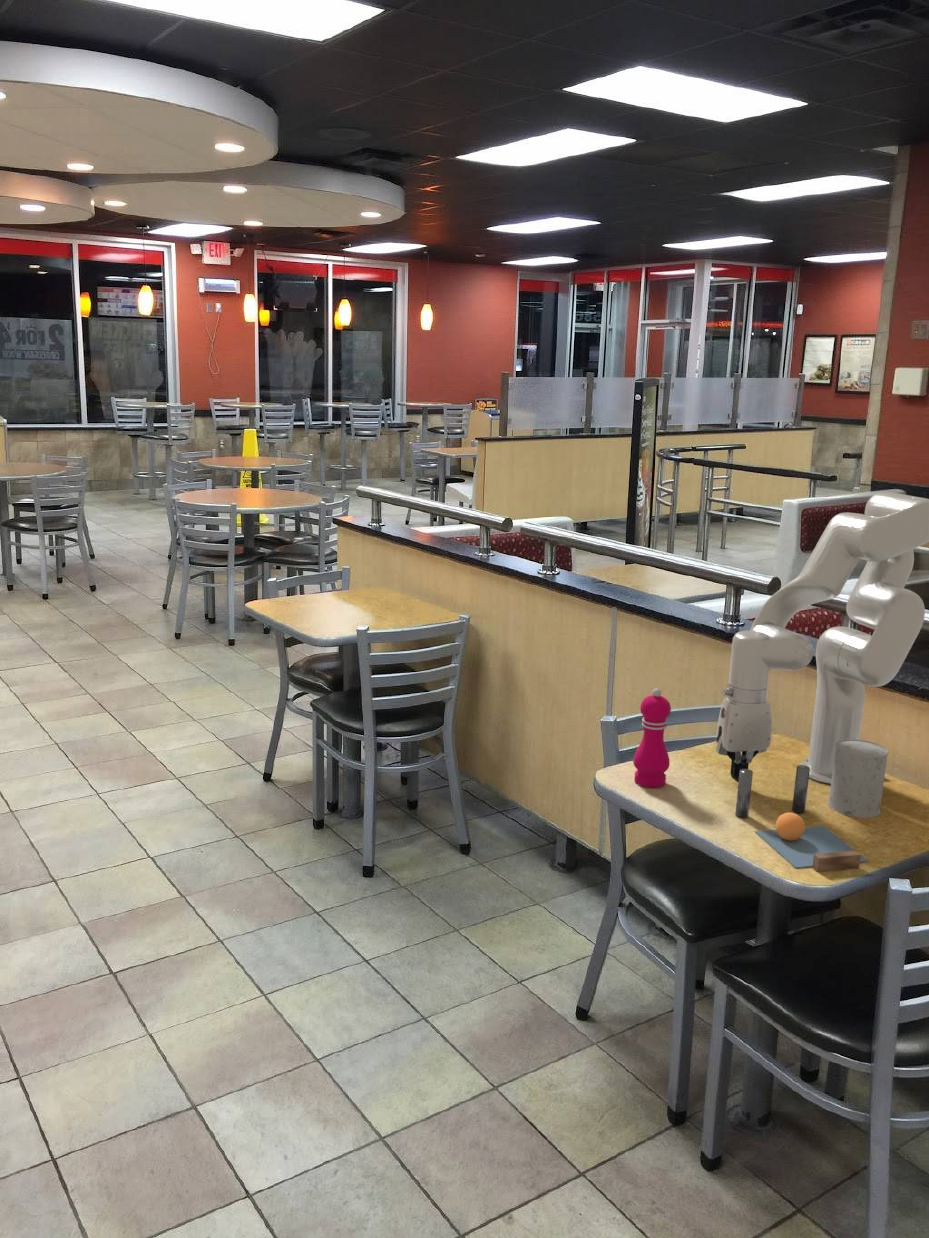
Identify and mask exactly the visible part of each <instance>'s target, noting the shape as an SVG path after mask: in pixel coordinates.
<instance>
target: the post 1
mask: <svg viewBox="0 0 929 1238" xmlns="http://www.w3.org/2000/svg"><path fill="white" fill-rule="evenodd" d="M753 774H754V772H753V770H751V769H749V768H748V769H740V772H739V782H737V783H738V784H737V794H736V803H735V813H734V815H735V817H737V818H739V819H748V818H749V813H750V806H751V805H750V801H751V793H752V784H753V777H754V776H753Z"/></svg>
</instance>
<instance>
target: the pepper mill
mask: <svg viewBox="0 0 929 1238" xmlns="http://www.w3.org/2000/svg"><path fill="white" fill-rule="evenodd" d="M639 709H640V713H641V715H642V719H641V722H642V723H641V726H642V727H643V734H642V739H641V741H640V743H639V746H638V747H637V749H636V750H635V753H634V756H633V766H634V767H635V769H636V771H635V773H634V782H635V784H637V785H638V784H639V786H640V785H642V786H641V787H643V786H646V787H645V788H648V787H652V788H651V789H658V787H659V788H661V787H664V786H665V785H666V781H667V775H666V773H665V772H667V771H668V770H669V767H670V756H669V753H668V750H667V748H666V745H665V740H664V737H665V735H664V733H665V729H667V727H668V725H667V723H668V720H667V718H668V717H669V716H670V715H671V711H672V708H671V703H670V701H669V700H668V699H667V698H666V697H664V696H663V695H662V690H661V689H659V688H656V687H655V688H654V689H653V690H652V692H651V695H647V696H646V697H644V698H643V699H642V701H641V703H640V708H639ZM653 787H654V788H653Z"/></svg>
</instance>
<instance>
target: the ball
mask: <svg viewBox="0 0 929 1238" xmlns="http://www.w3.org/2000/svg"><path fill="white" fill-rule="evenodd" d="M805 827H806V826H805V822H804V820H803V818H802V817H801V816H799V814H797V813H794V812H785V813H782V814H781V815H780V816H779V817H777V820H776V822H775V830H776V831H777V833H778V834H779V836H780V837H781V838H783V839H785V840H788V841H794V840H797V839H799V838H800V837H801V836H802V835H803V833H804V830H805Z"/></svg>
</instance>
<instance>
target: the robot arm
mask: <svg viewBox="0 0 929 1238" xmlns="http://www.w3.org/2000/svg"><path fill="white" fill-rule="evenodd" d="M928 543H929V498H925V497H919V496H913V495H908V494H903V493H897V492H886V491H884V492H879V493H878V492H877V493H875V494H874V495H872V496H871V497H870V498H869V499H868V500H867V502H866V504H865V509H864V514H863V513H856V512H848V511H847V512H840V513H838V514H836V515H834V516H833V517H832V518H831V519H830V520H829V522H828V524H827V525H826V527H825V529H824V531H823V532H822V534H821V536H820V538H819V539H818V541H817V543H816V545H815V547H814V548H813V550H812V552H811V554H810V556H809V558H808V559H807V561H806V563H805V565H803V568H802V570H801V571H800V573H798V576H796V578H794V579H793V580H791V581H789V582H788V583H786V584H785V585H784V586H782V587H781V588H779V590H777V591H776V592H775V593H773V594H772V595H771V596H770V597H769V598H768V599H767V600H766V601H765V603H764V604H763V605H762V607H761V608H760V610H759V612H758V613H757V615H756V616H755V619H754V621H753V622H752V623H751V627H750V629H749V630H741V631H738V632H736V633H735V634H734V636H733V637H732V642H731V649H730V650H731V652H730V653H731V654H730V662H729V673H728V684H726V685H727V686H726V687H725V688H722V690H721V694H722V696H724V698H723V701H722V704H721V707H720V711H719V714H718V715H719V716H718V720H717V725H716V732H715V733H716V734H715V735H716V736H715V741H716V743H717V745H716V748H715V752H716V753H717V754H718V755H722V756H728V757H729V759H730V760H731V764H730V771H729V772H730V776H731V778H732V779H733V780H734V781H736V782H737V783H738V782H739V772H740V769H749V765H750V764H751V763H752V762H753V759H754V758H755V757H756V755H758V754H761V753H764V752H766V751H767V750H768V748H770V746H771V743H772V732H773V731H772V725H773V724H772V723H773V722H772V719H773V718H772V717H773V716H772V707H771V702H770V700H769V699H767V695H768V685H769V676H770V671H771V670H778V671H789V672H792V671H799V670H802V669H803V668H806V667H807V666H808V665H809V664H810V663H811V661H812V659H813V656H814V647H813V645H812V643H811V641H810V639H808V638H806V637H805V635H804V636H803V635H802V634H800V633H797V632H795V631H792V630H789V629H788V628H786V626H787V625H788V623H789V621H791V619H792V618H793V617H794V616H795V615H796V614H797V613H798V612H800V610H802V609H804V608H806V607H808V606H811V605H813V604H818V603H820V602H825V601H829V600H832V599H836V598H837V597H838V596H840V594H841V592H842V591H843V589H844V587H845V585H846V583H847V582H848V580H849V578H850V576H851V574H852V572H853V571H854V569H855V567H856V565H857V564H858V562H859V560H865V561H866V564H865V566H864V568H863V570H862V572H861V574H860V576H859V577H858V580H857V582H856V583H855V585H854V587H853V589H852V590H851V593H850V595H849V597H848V600H847V603H846V607H845V609H846V610H845V611H846V615H847V616H848V618H850V619H851V620H852V621H853V622H854V623H856V624H859V625H862V626H864V627H866V628H869V629H871V630H873V633H872V635H871V634H868V633H867V632H863V631H860V630H858V629H856V628H852V627H848V626H840V625H839V626H833V627H829V628H828V629H826V630H825V631H824V632H822V634H821V635H820V636H819V638H818V640H817V643H816V646H815V647H816V648H815V661H816V678H817V679H816V691H815V692H816V693H815V700H814V710H813V717H812V725H811V733H810V742H809V751H808V758H806V759H803V760H802V761H800V763H799V765H805V766H808V767H809V768H810V772H809V779H812V780H814V781H818V782H821V783H825V784H829V785H831V781H832V772H833V764H834V756H835V748H836V746H835V744H836V742H838V741H840V740H845V739H858V740H861V739H860V738H861V730H862V724H863V714H864V707H865V702H866V701H865V699H866V691H865V685H866V686H869V687H876V688H877V687H883V686H885V685H888V684H889V683H890V682H891V681H892V680H893V679H894V678H895V676H897V674H898V673H899V672H900V669H901V667H902V666H903V663H904V662H905V659H906V658H907V656H908V654H909V653H910V650H911V649H912V647H913V644H914V643H915V641H916V639H917V637H918V636H919V634H920V631H921V629H922V627H923V625H924V621H925V614H926V608H925V604H924V600H923V599H922V598H921V597H920V596H919V594H917V593H916V592H914V591H912V590H910V589H908V588H905V586H906V584H907V581H908V579H909V578H910V575H911V574H912V571H913V568H914V562H915V554H914V549H917V548H919V547H921V546H924V545H925V544H928ZM725 696H726V697H725Z"/></svg>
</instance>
